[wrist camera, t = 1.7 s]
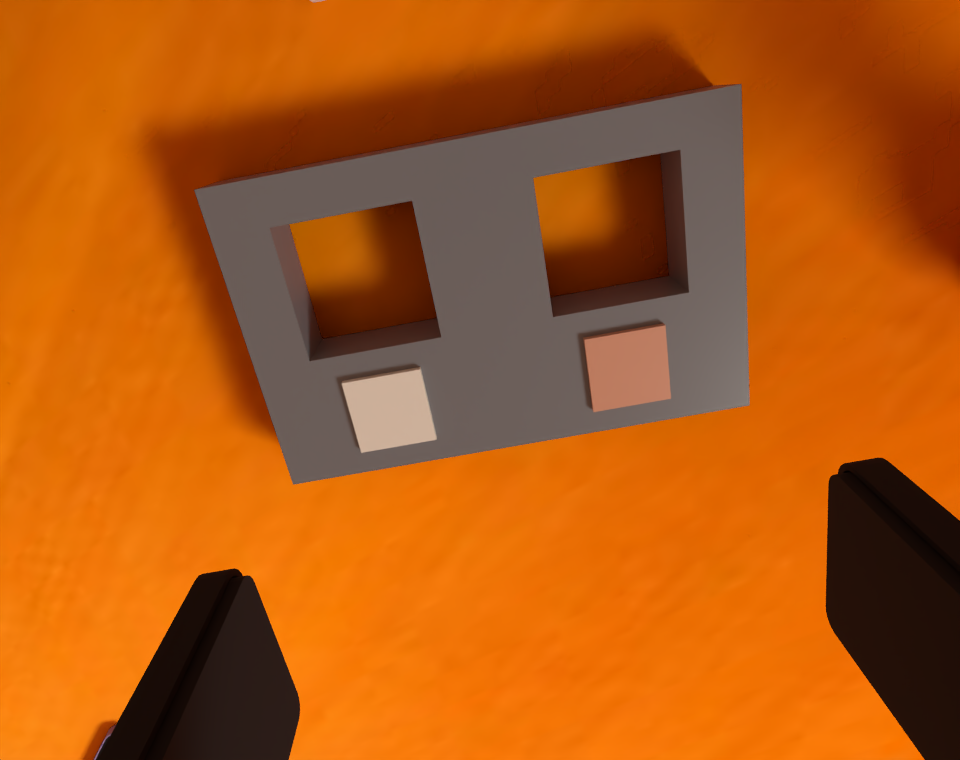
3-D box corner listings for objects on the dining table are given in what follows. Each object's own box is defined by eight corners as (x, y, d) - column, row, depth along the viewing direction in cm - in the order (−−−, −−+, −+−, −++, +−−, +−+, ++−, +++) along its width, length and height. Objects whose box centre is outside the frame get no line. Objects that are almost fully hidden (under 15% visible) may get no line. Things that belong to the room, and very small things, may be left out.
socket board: (218, 181, 30) (191, 190, 27) (714, 85, 29) (744, 83, 26) (306, 454, 35) (291, 487, 32) (725, 380, 34) (751, 407, 31)
